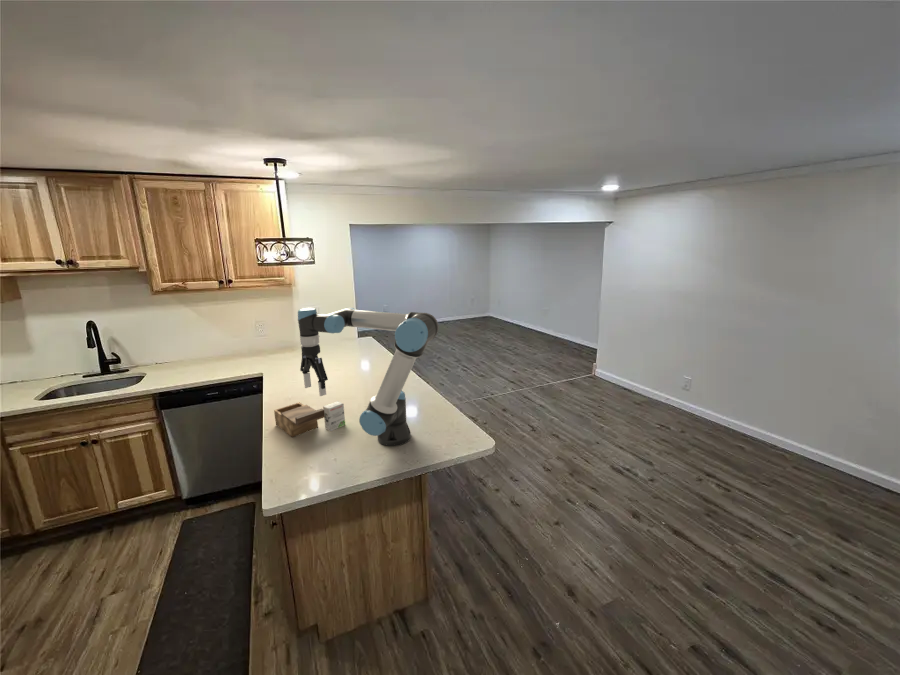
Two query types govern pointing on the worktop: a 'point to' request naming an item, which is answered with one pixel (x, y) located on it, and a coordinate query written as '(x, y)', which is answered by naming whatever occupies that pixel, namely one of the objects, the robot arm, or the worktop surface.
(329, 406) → the ink box
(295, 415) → the lid
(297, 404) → the crate
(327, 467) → the worktop surface
